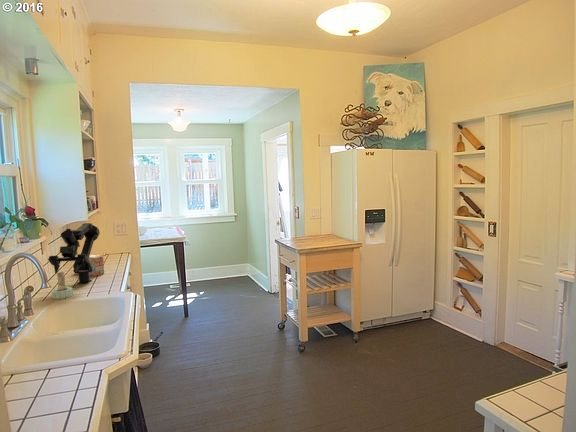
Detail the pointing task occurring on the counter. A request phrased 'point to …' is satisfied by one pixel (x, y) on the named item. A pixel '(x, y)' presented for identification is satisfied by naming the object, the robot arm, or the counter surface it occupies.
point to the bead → (62, 293)
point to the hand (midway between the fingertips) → (64, 272)
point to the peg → (61, 281)
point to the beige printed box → (96, 264)
